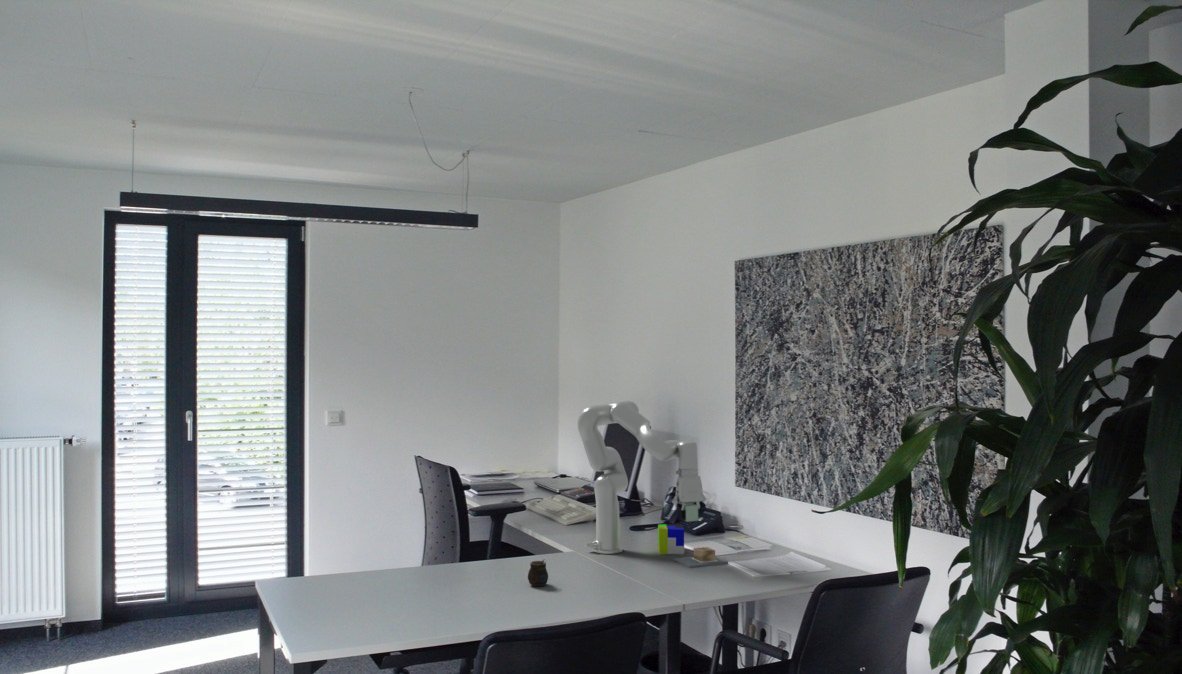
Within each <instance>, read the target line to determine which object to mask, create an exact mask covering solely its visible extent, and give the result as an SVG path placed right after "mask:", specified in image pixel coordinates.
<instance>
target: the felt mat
mask: <svg viewBox="0 0 1182 674" xmlns="http://www.w3.org/2000/svg"><path fill="white" fill-rule="evenodd" d="M674 561H675V562H677V563H679V564H680V565H683V566H685V567H687V568H689V569H690V568H691V569H692V568H699V567H700V568H702V567H709V566H710V567H711V566H718V565H719V566H720V565H728V564H729V561H728V560H726V559H723V558H721V557H719V556H716V555H715V561H706V562H701V561H699V560H696V559H694V556H687V557H685V556H684V557H679V558H678V557H677V558H674Z"/></svg>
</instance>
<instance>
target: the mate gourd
mask: <svg viewBox="0 0 1182 674" xmlns="http://www.w3.org/2000/svg"><path fill="white" fill-rule="evenodd" d="M545 560H546V559H543V560H533V561H530V565H529V566H530V568H529V570H528V572H527V580H528V583H529V585H530V586H532V587H535V588H541V587H543V586H546V584H547V583H548V580H549V573H548V570H547V562H546V561H545Z"/></svg>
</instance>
